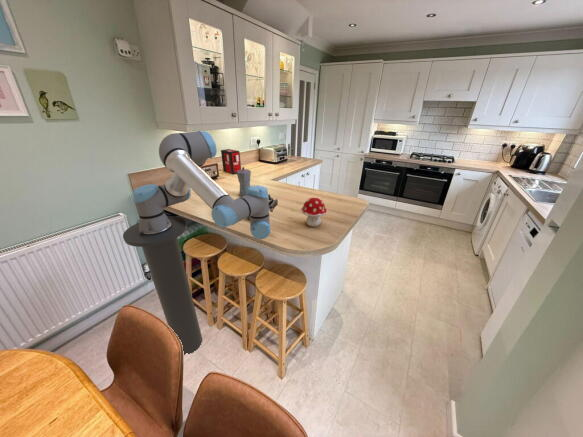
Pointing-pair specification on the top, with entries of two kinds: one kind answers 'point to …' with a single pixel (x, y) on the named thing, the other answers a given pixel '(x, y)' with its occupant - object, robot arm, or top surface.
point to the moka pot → (244, 180)
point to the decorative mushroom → (314, 211)
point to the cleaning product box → (231, 161)
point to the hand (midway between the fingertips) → (255, 197)
